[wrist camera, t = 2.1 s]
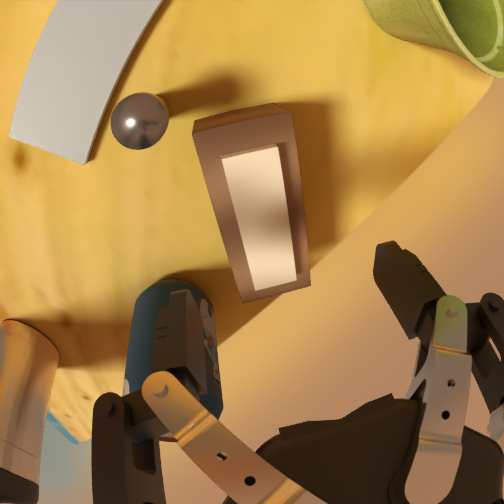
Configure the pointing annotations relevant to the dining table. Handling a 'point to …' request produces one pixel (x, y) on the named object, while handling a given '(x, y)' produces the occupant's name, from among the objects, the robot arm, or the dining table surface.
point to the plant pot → (448, 27)
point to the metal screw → (140, 120)
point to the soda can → (144, 338)
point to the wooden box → (256, 197)
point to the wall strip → (77, 73)
